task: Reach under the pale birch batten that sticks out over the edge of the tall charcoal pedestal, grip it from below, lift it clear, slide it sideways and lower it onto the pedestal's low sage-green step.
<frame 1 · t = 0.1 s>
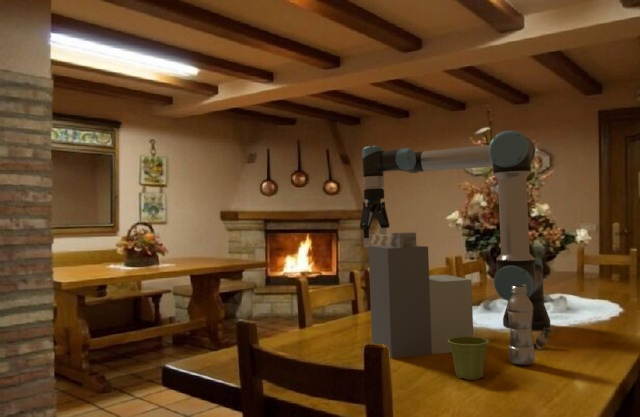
hand: (376, 246, 201), 28 cm above the table, tool pointing down, fingers open, 13 cm apart
pedestal: (400, 349, 159), on the table
plastic bottle: (522, 365, 139), on the table
vase: (543, 348, 156), on the table
plant pot: (469, 377, 130), on the table
batten: (389, 245, 165), point 30 cm above the table, touching pedestal
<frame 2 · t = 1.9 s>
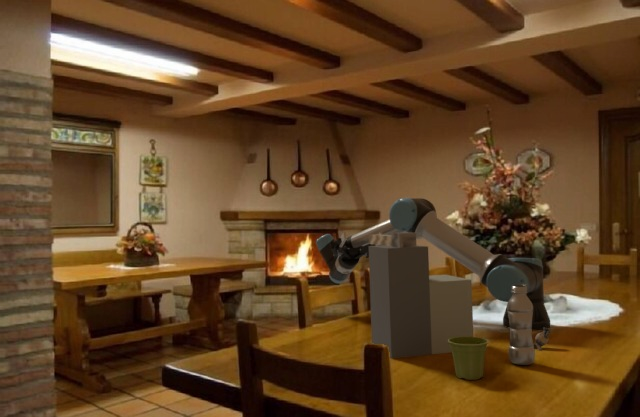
hand: (363, 235, 191), 32 cm above the table, tool pointing upward, fingers open, 13 cm apart
nothing on the table moved.
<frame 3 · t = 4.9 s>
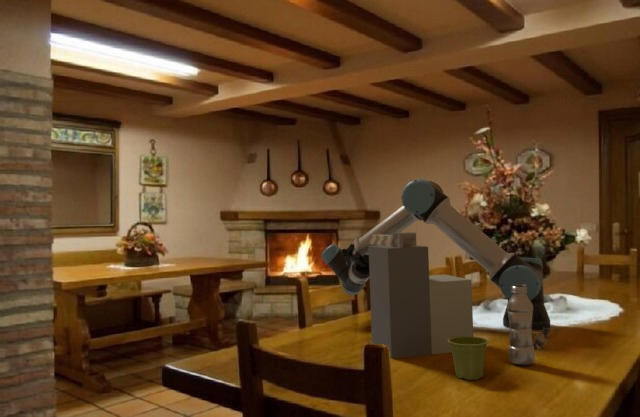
hand: (378, 240, 173), 31 cm above the table, tool pointing upward, fingers open, 13 cm apart
nothing on the table moved.
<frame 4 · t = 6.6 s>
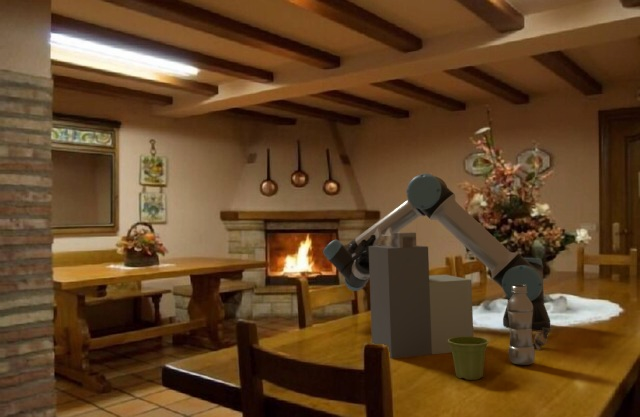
hand: (385, 231, 168), 34 cm above the table, tool pointing upward, fingers closed on batten, 3 cm apart
batten: (389, 245, 165), point 30 cm above the table, touching gripper, pedestal
everything else where it was.
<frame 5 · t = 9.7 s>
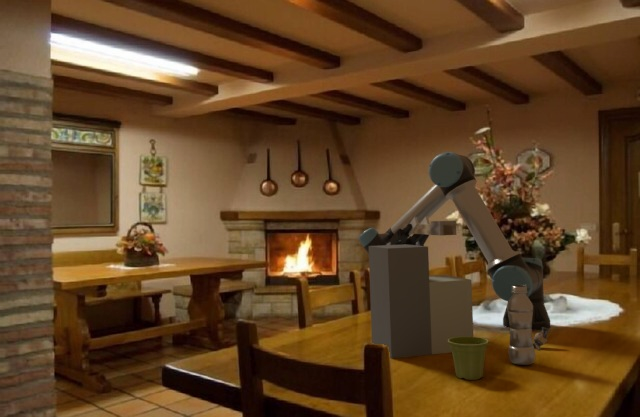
hand: (422, 220, 171), 37 cm above the table, tool pointing upward, fingers closed on batten, 3 cm apart
batten: (427, 234, 168), point 33 cm above the table, touching gripper
everything else where it was.
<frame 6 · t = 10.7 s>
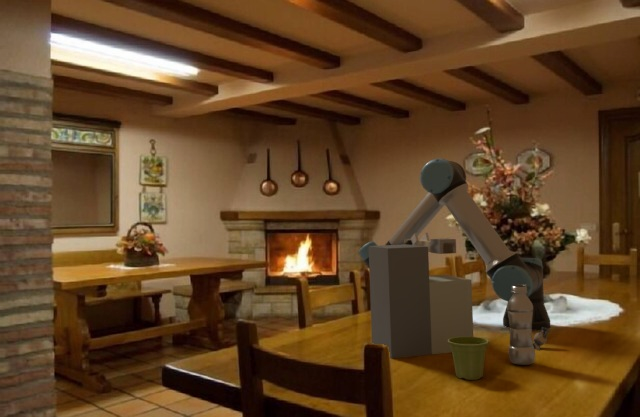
hand: (421, 236, 171), 32 cm above the table, tool pointing upward, fingers closed on batten, 3 cm apart
batten: (426, 250, 168), point 28 cm above the table, touching gripper
everything else where it was.
when the fingers open (26 cm above the table, at t = 12.3 s): batten drops 1 cm, resting on pedestal.
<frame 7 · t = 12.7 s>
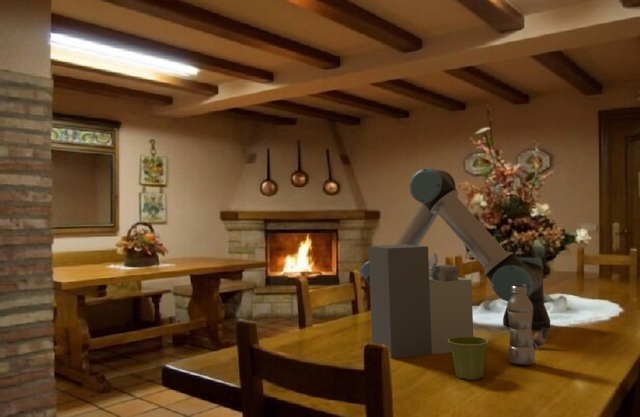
hand: (422, 258, 172), 25 cm above the table, tool pointing upward, fingers open, 8 cm apart
batten: (428, 276, 168), point 20 cm above the table, touching pedestal
everything else where it was.
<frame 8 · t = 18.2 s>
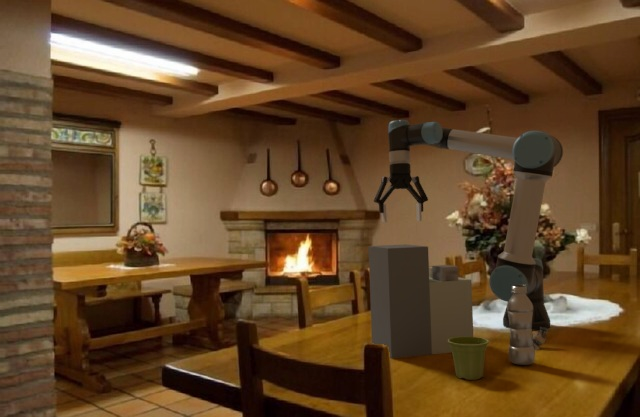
hand: (401, 221, 199), 37 cm above the table, tool pointing down, fingers open, 13 cm apart
nothing on the table moved.
at the end: batten inside the target area (0.1 cm from its centre), point 20.0 cm above the table; batten tilted 0°; the gripper is holding nothing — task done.
